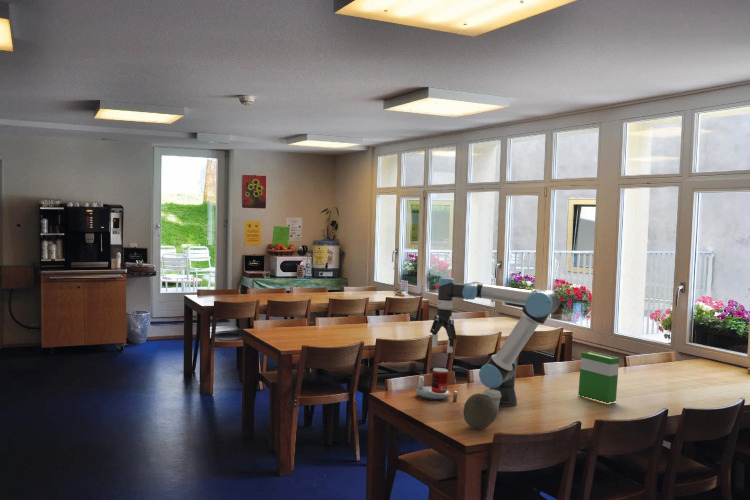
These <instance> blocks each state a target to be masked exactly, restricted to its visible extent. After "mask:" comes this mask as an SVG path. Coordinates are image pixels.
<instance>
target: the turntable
mask: <svg viewBox="0 0 750 500" xmlns="http://www.w3.org/2000/svg"><path fill="white" fill-rule="evenodd" d="M424 380H425V376H422V375H419V377H418V387H417V388H416V389H415V391H416V392H415V394H416V395H418V396H419V397H422V398H423V397H426V398H433V399H442V400H444V399H447V398H451V397H452V394H451V392H450V391H451V390H448V389H447V391H446V392H445V393H435V392H433V391H432V389H431V388H432V386H424V382H425V381H424Z"/></svg>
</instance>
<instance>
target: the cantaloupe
mask: <svg viewBox="0 0 750 500" xmlns="http://www.w3.org/2000/svg"><path fill="white" fill-rule="evenodd" d="M462 413H463V417H464V422H465V423H466V424H467V425H468V426H469V427H470V428H473V430H476V429H477V431H481V430H484V429H486V428H488V427H489V426H490V425H491V424H493V422H494V421H495V419H497V418H496V415H497V416H498V414H497V405H496V403H495V401H494V400H493V399H492V398H491V397H490V396H488V395H484V394H483V393H475V394H474V393H473V394H472V395H469V397H468V398H467V400H466V401H465V402H464V407H463V412H462Z"/></svg>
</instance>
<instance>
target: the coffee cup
mask: <svg viewBox="0 0 750 500" xmlns="http://www.w3.org/2000/svg"><path fill="white" fill-rule="evenodd" d="M482 394H484V395H488V396H490V397H491V398H492V399H493V400H494V401H495V403H496V405H497V415H496V418H495V419H497V418H498V414H499V413H498V412H499V407H500V406H499V403H500V397H501V393H500V391H498V390H493V389H490V388H487V389H484V390H483V392H482Z"/></svg>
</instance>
